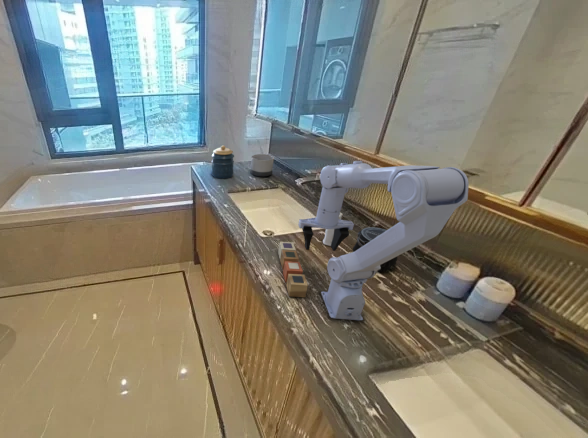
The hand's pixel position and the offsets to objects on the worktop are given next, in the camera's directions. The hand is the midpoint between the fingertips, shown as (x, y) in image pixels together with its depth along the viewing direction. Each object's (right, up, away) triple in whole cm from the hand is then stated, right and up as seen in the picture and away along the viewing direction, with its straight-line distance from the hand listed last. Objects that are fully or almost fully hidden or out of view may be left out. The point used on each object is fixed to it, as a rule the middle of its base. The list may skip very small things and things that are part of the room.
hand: (319, 248), depth 85 cm
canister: (-22, +35, +85) cm, 94 cm away
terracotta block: (-8, -9, +3) cm, 12 cm away
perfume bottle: (+12, 0, +20) cm, 23 cm away
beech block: (-7, -6, +8) cm, 12 cm away
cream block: (-6, -4, +12) cm, 14 cm away
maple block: (-8, -12, -2) cm, 15 cm away
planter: (+1, +35, +85) cm, 92 cm away
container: (+21, -5, +10) cm, 24 cm away
